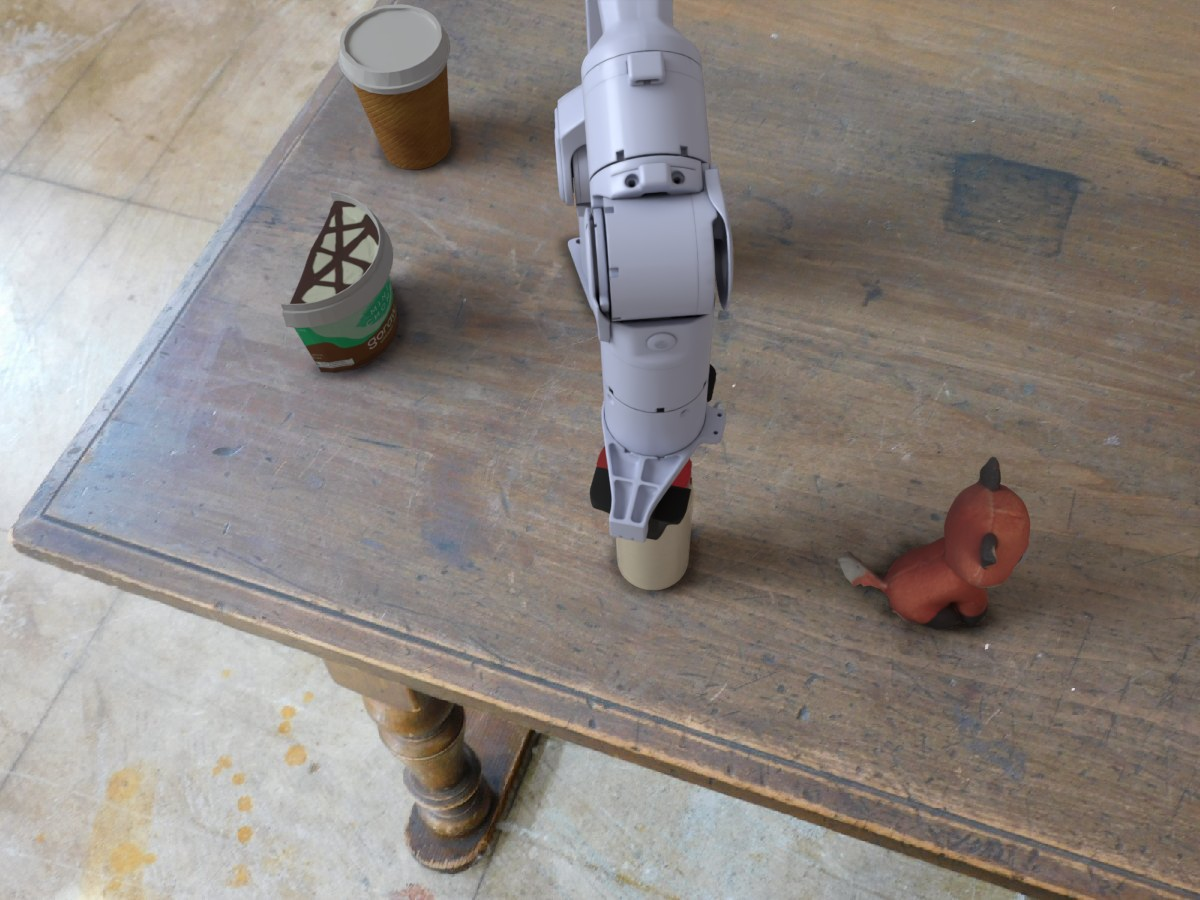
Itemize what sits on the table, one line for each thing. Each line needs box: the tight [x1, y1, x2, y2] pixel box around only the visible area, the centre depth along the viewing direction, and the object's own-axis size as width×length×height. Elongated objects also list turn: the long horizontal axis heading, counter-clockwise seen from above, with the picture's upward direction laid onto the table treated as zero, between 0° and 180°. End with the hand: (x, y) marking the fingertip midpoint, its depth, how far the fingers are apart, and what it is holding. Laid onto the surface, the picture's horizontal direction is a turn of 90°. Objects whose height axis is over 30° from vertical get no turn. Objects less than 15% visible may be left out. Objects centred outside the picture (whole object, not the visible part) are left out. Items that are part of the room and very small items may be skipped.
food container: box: [280, 190, 399, 373], centre depth 85 cm, size 12×6×10 cm, turn 168°
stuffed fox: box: [837, 456, 1031, 631], centre depth 71 cm, size 8×11×12 cm
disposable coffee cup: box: [337, 3, 452, 170], centre depth 95 cm, size 10×10×12 cm
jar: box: [615, 484, 695, 591], centre depth 73 cm, size 5×5×11 cm
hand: (653, 489), depth 69 cm, fingers closed on lid, 6 cm apart
